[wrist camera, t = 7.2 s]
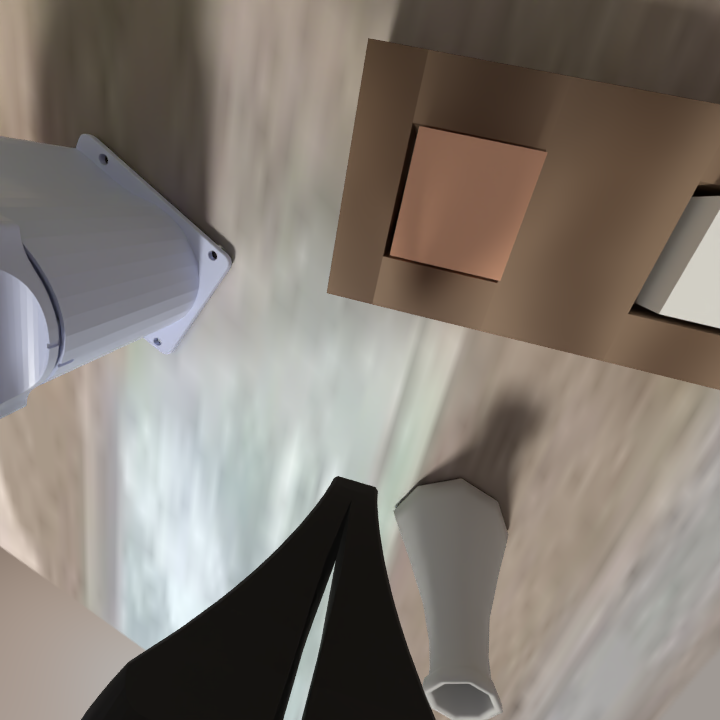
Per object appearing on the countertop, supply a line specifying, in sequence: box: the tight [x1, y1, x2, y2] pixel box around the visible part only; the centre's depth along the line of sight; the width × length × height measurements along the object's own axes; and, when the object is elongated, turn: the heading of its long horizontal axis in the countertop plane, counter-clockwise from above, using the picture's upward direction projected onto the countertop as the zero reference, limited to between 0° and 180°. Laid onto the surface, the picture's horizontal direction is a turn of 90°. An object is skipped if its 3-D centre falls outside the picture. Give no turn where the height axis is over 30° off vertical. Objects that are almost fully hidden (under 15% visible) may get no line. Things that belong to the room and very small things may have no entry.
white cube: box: [634, 196, 720, 328], centre depth 14 cm, size 4×4×4 cm
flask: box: [394, 479, 508, 720], centre depth 20 cm, size 7×7×10 cm
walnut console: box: [327, 38, 720, 390], centre depth 15 cm, size 19×9×4 cm, turn 78°
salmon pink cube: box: [390, 126, 548, 281], centre depth 14 cm, size 4×4×4 cm
